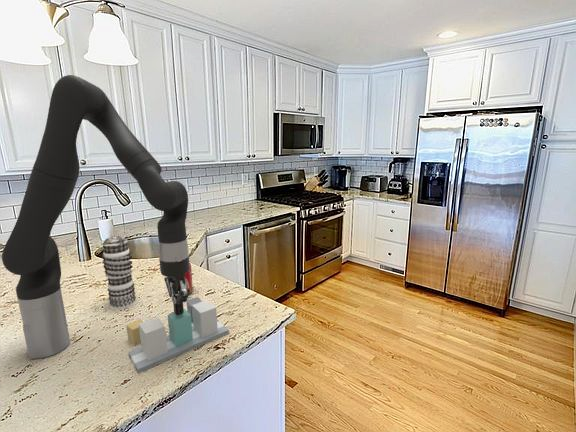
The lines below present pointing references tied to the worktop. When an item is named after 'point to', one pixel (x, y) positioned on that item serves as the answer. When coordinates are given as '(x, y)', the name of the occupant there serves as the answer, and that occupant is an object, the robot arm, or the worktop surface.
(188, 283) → the soda can
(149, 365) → the rail plate
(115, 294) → the black and white cylinder
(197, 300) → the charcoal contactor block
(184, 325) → the block
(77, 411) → the worktop surface
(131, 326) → the ochre block
